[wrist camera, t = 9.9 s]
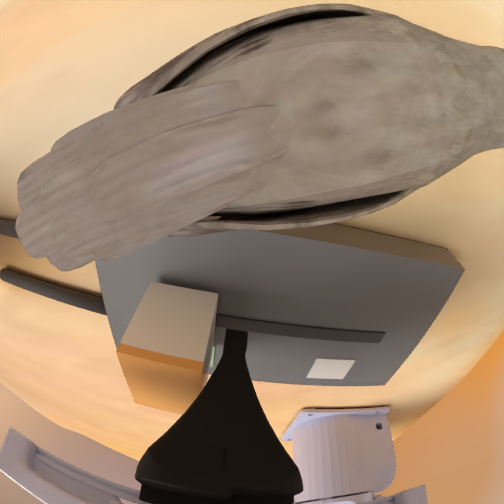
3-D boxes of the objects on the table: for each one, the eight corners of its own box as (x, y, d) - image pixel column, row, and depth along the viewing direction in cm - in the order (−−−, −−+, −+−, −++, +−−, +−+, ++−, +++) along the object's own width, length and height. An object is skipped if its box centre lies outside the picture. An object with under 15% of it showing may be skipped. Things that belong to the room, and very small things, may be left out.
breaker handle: (218, 293, 12) (201, 371, 8) (212, 350, 14) (200, 417, 10) (151, 281, 12) (116, 351, 8) (157, 339, 14) (135, 402, 10)
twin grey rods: (112, 235, 13) (103, 244, 12) (124, 311, 16) (118, 321, 15) (-11, 214, 13) (-20, 220, 12) (6, 274, 16) (0, 281, 15)
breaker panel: (447, 249, 13) (465, 270, 11) (378, 363, 18) (384, 386, 16) (109, 190, 12) (86, 207, 10) (128, 331, 17) (117, 354, 15)
